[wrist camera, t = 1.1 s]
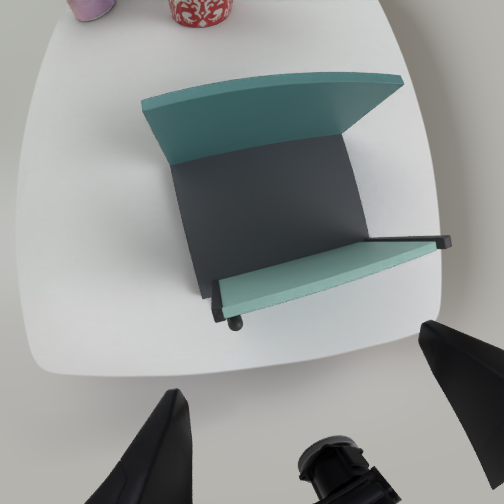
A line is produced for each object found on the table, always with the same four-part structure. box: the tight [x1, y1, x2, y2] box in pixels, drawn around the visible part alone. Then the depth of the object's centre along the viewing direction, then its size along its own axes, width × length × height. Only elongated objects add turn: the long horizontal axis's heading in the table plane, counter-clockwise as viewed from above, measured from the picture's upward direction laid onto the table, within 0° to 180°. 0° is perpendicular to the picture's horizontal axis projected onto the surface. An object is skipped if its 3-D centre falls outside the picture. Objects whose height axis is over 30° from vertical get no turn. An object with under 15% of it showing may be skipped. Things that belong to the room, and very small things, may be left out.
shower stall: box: [141, 72, 452, 299], centre depth 21 cm, size 13×17×12 cm
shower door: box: [211, 242, 437, 331], centre depth 20 cm, size 2×14×11 cm, turn 104°
